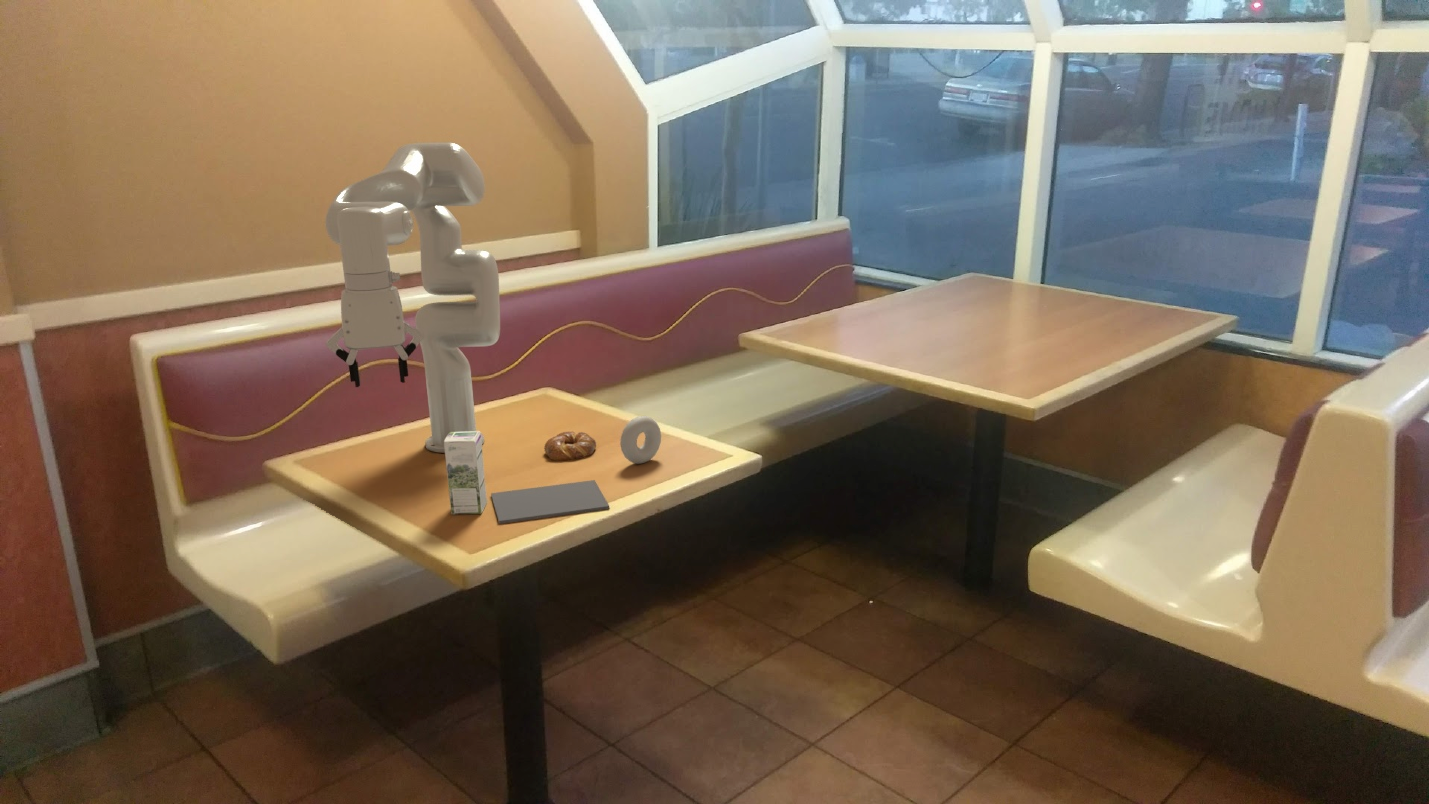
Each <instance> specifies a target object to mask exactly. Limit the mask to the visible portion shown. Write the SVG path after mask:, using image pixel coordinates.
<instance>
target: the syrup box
mask: <svg viewBox="0 0 1429 804" xmlns="http://www.w3.org/2000/svg"><path fill="white" fill-rule="evenodd" d="M481 434H482V432H481V431H480V430H476V431H465V432H450V433H449V434H448V435H447V437H446V439H445V441H444V448H445V453H444V457H445V463H446V464H445V465H446V467H445V468H446V475H447V486H448V495H449V505H450V512H451V515H476V514H477V515H478V514H479V515H481V514H483V511H484V510H485V507H486V506H487V503H488V498H487V497H488V496H487V487H486V479H485V469H484V466H485V465H484V457H483V444H482V441H481Z"/></svg>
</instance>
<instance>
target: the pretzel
mask: <svg viewBox="0 0 1429 804" xmlns="http://www.w3.org/2000/svg"><path fill="white" fill-rule="evenodd" d="M596 447H597V442H596V440H595V438H593V437H592V436H590V435H589V434H588V433H586V432H582V431H581V432H577V433H576V432H574V431H563V432H560V433H559V434H557V435H556V436H553V437H551V438H549V439H548V440H547V441H546V442H545V444H544V448H543V449H544V452H545V455H546V456H548V457H549V458H550V459H551V460H552V461H558V462H559V461H560V462H562V461H569V460H580V459H582V458H584V457H587V456H591V455H593V453H594V450H595V449H596Z"/></svg>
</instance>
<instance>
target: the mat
mask: <svg viewBox="0 0 1429 804" xmlns="http://www.w3.org/2000/svg"><path fill="white" fill-rule="evenodd" d="M490 495H491V496H490V497H491V500H492V503H493V507H494V510H495V513H496V518H497V521H498V523H499V525H502V524H503V525H504V524H509V523H517V522H524V521H525V522H526V521H530V520H531V521H532V520H537V519H538V520H539V519H540V520H541V519H546V518H554V517H560V516H569V515H577V514H582V513H589V512H596V511H597V512H598V511H605V510H610V504H609V503H608V501H607V500H606V497H605V496H604V494H603V493H602V491H601V488H600V487H599V485H598V484H597V481H596V480H595V479H593V480H592V479H591V480H584V481H577V482H569V483H561V484H554V485H546V486H544V485H543V486H538V487H531V488H522V489H514V490H507V491H498V492H491V494H490Z"/></svg>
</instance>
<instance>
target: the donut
mask: <svg viewBox="0 0 1429 804" xmlns="http://www.w3.org/2000/svg"><path fill="white" fill-rule="evenodd" d="M642 433H644V442H643V444H642V445H641V446H640V447H639V446H638V438H639V436H640V435H641V434H642ZM661 442H662V432H661V428H660V427H659V425H658V423H657V421H656V420H654V418H652V417H649V416H646V415H643V416H639V415H638V416H636V417H635V418H632V419H631V420H630V421H629V422H627V423H626V425H625V427H624V428H623V430H622V433H621V436H620V444H619V445H620V448H621V449H620V450H621V453H622V455H623V457H624V458H625V459H626V460H628V461H629V462H630V463H633V464H637V465H640V464H645V463H647V462H649V461H651V460H652V459H653V458H654V457H655V456H656V454H657V453H658V451H659V449H660V446H661Z"/></svg>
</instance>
